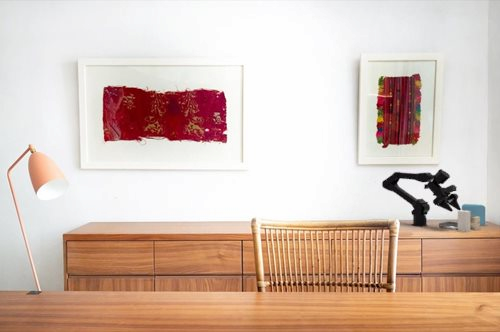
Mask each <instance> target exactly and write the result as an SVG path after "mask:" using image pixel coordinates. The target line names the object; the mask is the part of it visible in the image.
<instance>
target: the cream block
mask: <svg viewBox="0 0 500 332" xmlns="http://www.w3.org/2000/svg"><path fill="white" fill-rule="evenodd" d="M457 222H458V230H457V232H462V233H468V232H471V230H470V211H464V210H462V209H461V210H457Z"/></svg>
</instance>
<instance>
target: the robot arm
mask: <svg viewBox="0 0 500 332" xmlns="http://www.w3.org/2000/svg"><path fill="white" fill-rule="evenodd" d="M450 178H451V176H450V174H449V173H448V172H447V171H445V170H444V169H442V168H441V169H439V170H438V171H437V172H436V173H435V174H432V173H431V172H418V173H417V172H415V173H414V172H413V173H412V172H402V171H394V172H393V173H392V174H391V175H389V176H388V177H387V178H386V179H384V180H382V183H381V185H382V188H383V189H385V190H387V191H390V192H392V193H394V194H396V195H397V196H399V197H400V198H401V199H403V200H404V201H405V202H407V203H408V204H410V205H411V206H412V208H413V210H412V211H411V215H412V217H413V219H412V224H411V226H418V227H424V226H427V225H428V223H427V215H428V212H430V210H431V206H430V204H429V202H428V201H426V200H424V198H416V197H414V196H413V195H412V194H410V193H409V192H407V191H406V190H405V189H403V188H402V187H400V186H399V184H398V182H399V181H400V179H404V180H414V181H416V182H419V183H425V184H424V186H423V189H424V190H430V191H431V193H432V196H434V197H435V198H434V199H433V200H432V203H433V204H434V205H435V206H437V207H439V208H442V209H444V210H447V211H449V212H451V213H452V212H453V211H454V210H453V209H452V207H453V208H454V209H455V210H457V211H461V210H462V207H461V206H460V204H459V202H458V199H459V195H458V194H457V193H453V192H457V191H458V190H457V186H456V185H455V184H451V185H449V186H446V187H442V186H441V185H443V184H445V183H446V182H447V181H448V180H449V179H450Z"/></svg>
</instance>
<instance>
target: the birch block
mask: <svg viewBox="0 0 500 332" xmlns="http://www.w3.org/2000/svg"><path fill="white" fill-rule="evenodd" d="M480 229H481V225H480V217H477V216H470V231H479V230H480Z"/></svg>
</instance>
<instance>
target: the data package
mask: <svg viewBox="0 0 500 332" xmlns="http://www.w3.org/2000/svg"><path fill="white" fill-rule="evenodd" d="M461 210H464V211H470V216H477V217H480V227H481V226H485V225H486V206H485V205H483V204H478V203H477V204H476V203H474V204H472V203H471V204H470V203H469V204H467V203H464V204H462V205H461Z"/></svg>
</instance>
